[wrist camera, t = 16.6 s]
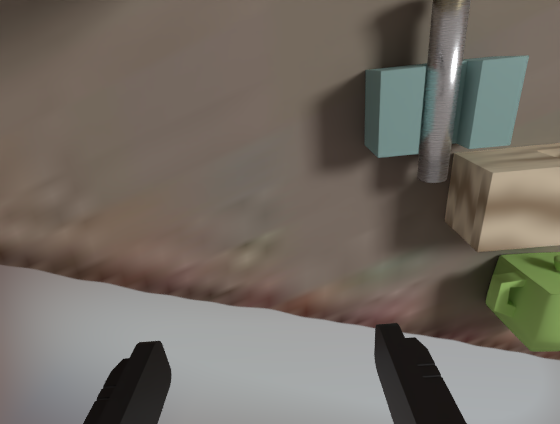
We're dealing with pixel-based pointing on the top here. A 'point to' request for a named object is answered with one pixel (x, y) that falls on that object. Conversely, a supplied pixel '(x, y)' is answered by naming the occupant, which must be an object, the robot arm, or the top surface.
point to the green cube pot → (528, 298)
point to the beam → (506, 197)
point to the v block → (469, 112)
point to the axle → (442, 87)
